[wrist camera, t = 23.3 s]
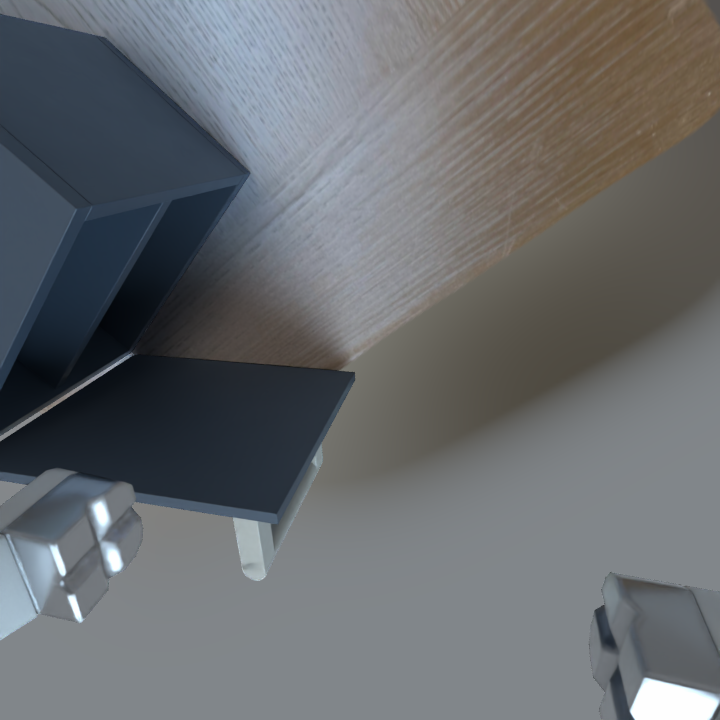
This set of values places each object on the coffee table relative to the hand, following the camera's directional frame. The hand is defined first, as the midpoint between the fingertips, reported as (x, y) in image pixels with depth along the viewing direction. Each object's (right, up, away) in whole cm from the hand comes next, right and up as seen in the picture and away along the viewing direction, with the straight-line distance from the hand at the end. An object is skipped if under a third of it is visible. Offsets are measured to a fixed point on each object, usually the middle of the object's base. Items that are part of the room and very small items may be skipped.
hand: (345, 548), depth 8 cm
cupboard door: (-11, 0, +38) cm, 40 cm away
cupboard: (-20, +15, +34) cm, 42 cm away
